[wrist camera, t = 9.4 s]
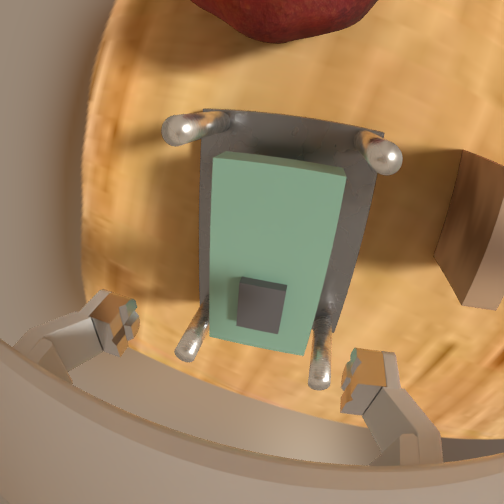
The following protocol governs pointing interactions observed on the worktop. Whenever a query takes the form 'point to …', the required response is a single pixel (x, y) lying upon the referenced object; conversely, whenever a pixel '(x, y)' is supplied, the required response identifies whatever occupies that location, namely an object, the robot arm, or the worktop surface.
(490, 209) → the tan rectangular block
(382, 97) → the worktop surface
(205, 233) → the chassis
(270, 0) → the fruit
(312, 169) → the board
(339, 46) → the worktop surface
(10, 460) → the robot arm
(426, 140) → the worktop surface
